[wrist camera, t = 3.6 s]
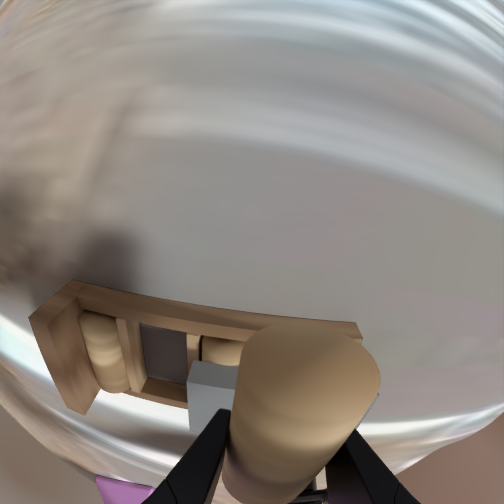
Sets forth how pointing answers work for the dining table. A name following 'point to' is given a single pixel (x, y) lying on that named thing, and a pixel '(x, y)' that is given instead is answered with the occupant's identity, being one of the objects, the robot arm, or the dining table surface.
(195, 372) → the slab
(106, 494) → the chair
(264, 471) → the roller
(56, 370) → the stop wall
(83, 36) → the dining table surface
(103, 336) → the roller bed
